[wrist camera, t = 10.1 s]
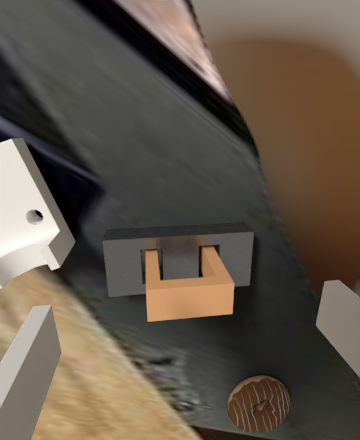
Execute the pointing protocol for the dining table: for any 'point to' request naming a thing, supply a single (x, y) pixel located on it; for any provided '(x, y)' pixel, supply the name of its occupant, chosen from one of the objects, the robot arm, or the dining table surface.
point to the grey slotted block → (174, 254)
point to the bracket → (28, 216)
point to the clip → (189, 289)
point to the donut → (262, 413)
